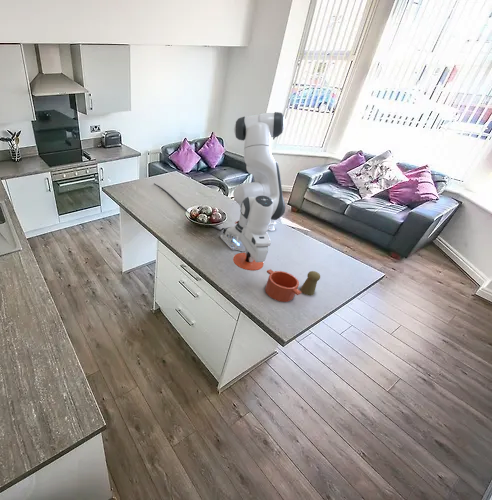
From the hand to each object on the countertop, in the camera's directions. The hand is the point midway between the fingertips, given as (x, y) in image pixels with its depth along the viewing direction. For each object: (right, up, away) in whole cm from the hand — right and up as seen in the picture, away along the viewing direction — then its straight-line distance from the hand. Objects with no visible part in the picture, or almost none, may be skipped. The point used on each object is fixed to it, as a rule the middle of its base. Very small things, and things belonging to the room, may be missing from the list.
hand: (248, 258), depth 134 cm
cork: (+29, -16, +4) cm, 34 cm away
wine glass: (+34, +18, +53) cm, 66 cm away
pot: (+15, -16, +3) cm, 23 cm away
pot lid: (0, -2, +1) cm, 2 cm away
